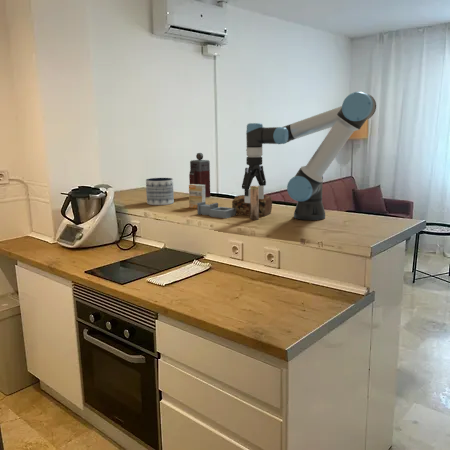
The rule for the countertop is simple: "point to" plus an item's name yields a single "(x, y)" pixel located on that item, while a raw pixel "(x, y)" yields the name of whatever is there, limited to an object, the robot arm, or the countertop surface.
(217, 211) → the grey ring bracket
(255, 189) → the pipe stub
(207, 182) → the coffee press
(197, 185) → the supplement box
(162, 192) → the planter
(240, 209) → the bread
